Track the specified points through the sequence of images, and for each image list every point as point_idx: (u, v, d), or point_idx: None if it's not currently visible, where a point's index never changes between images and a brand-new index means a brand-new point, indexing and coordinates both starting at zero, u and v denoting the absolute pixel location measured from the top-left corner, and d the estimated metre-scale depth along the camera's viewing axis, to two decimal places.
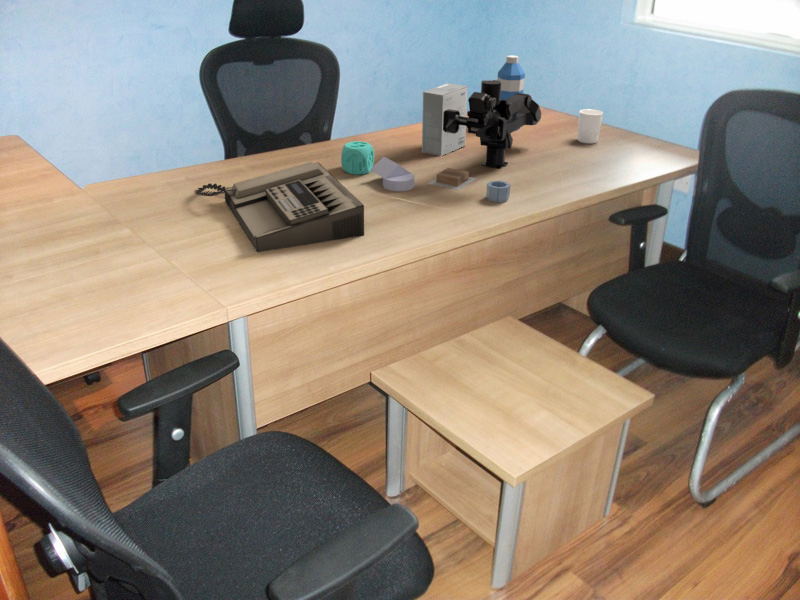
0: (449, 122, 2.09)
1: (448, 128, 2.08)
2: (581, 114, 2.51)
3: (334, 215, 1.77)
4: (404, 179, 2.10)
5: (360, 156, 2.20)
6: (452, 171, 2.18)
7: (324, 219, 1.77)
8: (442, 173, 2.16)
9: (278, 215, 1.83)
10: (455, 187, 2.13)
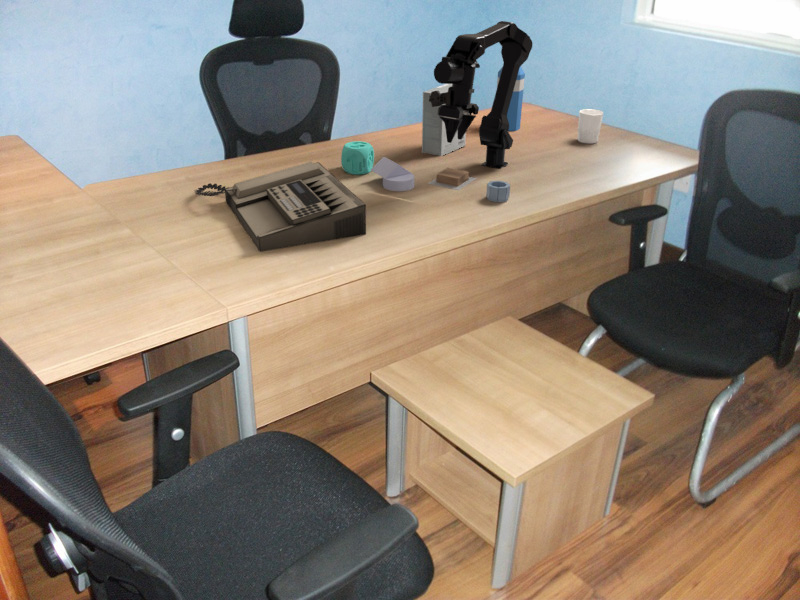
0: None
1: (459, 135, 2.15)
2: (581, 114, 2.51)
3: (336, 214, 1.78)
4: (404, 179, 2.10)
5: (360, 156, 2.20)
6: (452, 171, 2.18)
7: (326, 219, 1.77)
8: (442, 173, 2.16)
9: (280, 215, 1.84)
10: (455, 187, 2.13)
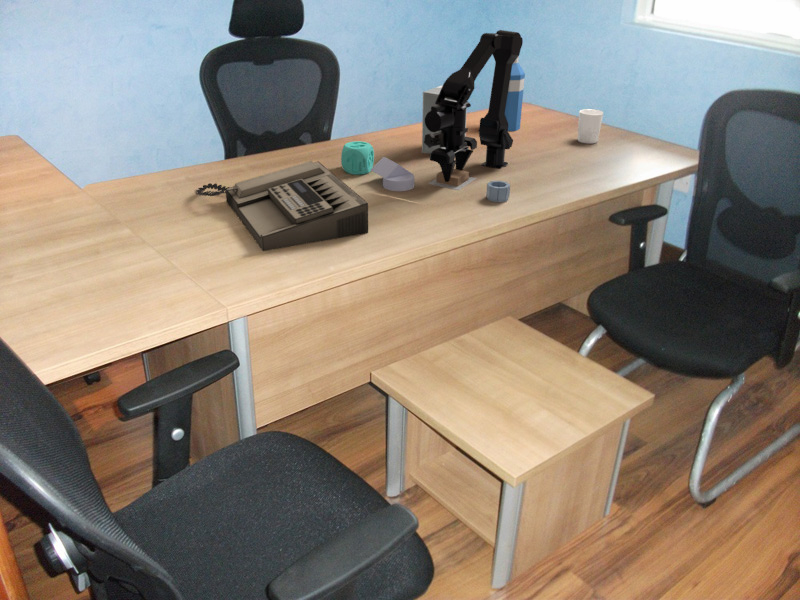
0: None
1: None
2: (581, 114, 2.51)
3: (339, 213, 1.78)
4: (404, 179, 2.10)
5: (360, 156, 2.20)
6: None
7: (329, 218, 1.78)
8: (442, 173, 2.16)
9: (282, 214, 1.84)
10: (455, 187, 2.13)
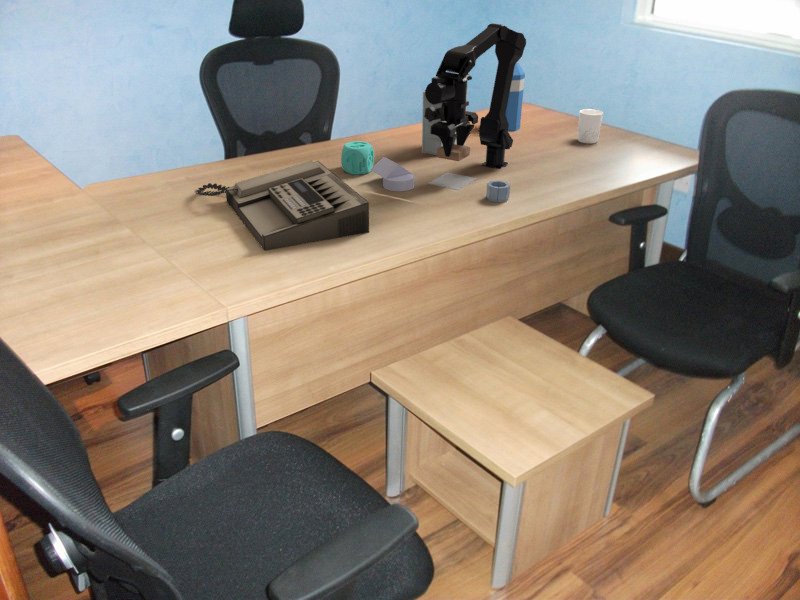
0: None
1: None
2: (581, 114, 2.51)
3: (340, 213, 1.79)
4: (404, 179, 2.10)
5: (360, 156, 2.20)
6: (453, 146, 2.14)
7: (330, 217, 1.78)
8: None
9: (283, 214, 1.84)
10: (455, 187, 2.13)
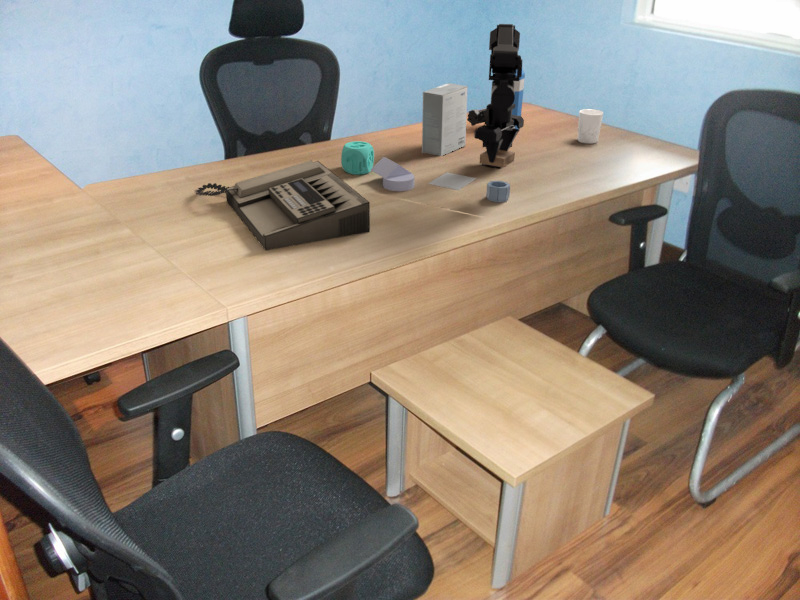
0: None
1: None
2: (581, 114, 2.51)
3: (341, 212, 1.79)
4: (404, 179, 2.10)
5: (360, 156, 2.20)
6: None
7: (331, 217, 1.78)
8: (486, 153, 2.00)
9: (283, 213, 1.84)
10: (455, 187, 2.13)
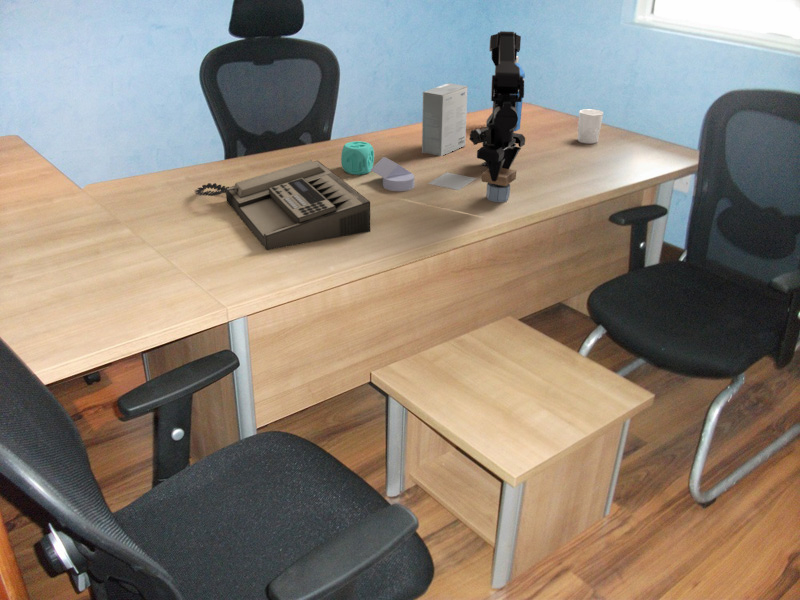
0: None
1: None
2: (581, 114, 2.51)
3: (341, 212, 1.79)
4: (404, 179, 2.10)
5: (360, 156, 2.20)
6: None
7: (332, 216, 1.79)
8: (488, 172, 2.02)
9: (284, 213, 1.85)
10: (455, 187, 2.13)
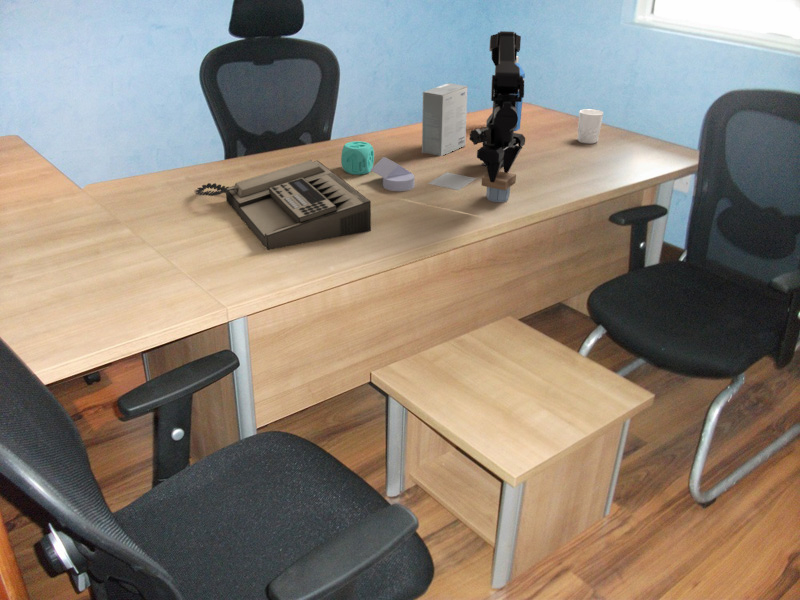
0: None
1: (506, 168, 2.06)
2: (581, 114, 2.51)
3: (342, 212, 1.79)
4: (404, 179, 2.10)
5: (360, 156, 2.20)
6: (498, 174, 2.04)
7: (332, 216, 1.79)
8: (488, 176, 2.02)
9: (285, 213, 1.85)
10: (455, 187, 2.13)
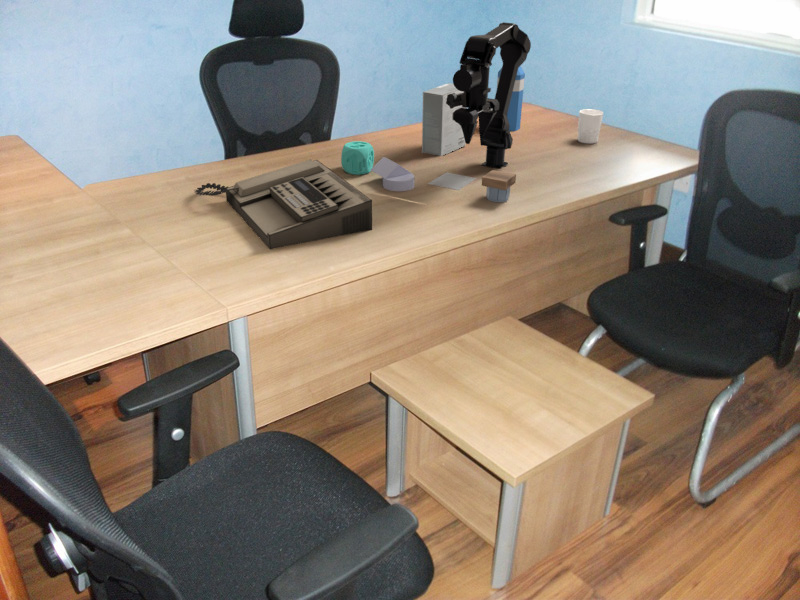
0: None
1: (481, 132, 2.17)
2: (581, 114, 2.51)
3: (344, 211, 1.80)
4: (404, 179, 2.10)
5: (360, 156, 2.20)
6: (498, 174, 2.04)
7: (334, 215, 1.79)
8: (488, 176, 2.02)
9: (286, 212, 1.85)
10: (455, 187, 2.13)
